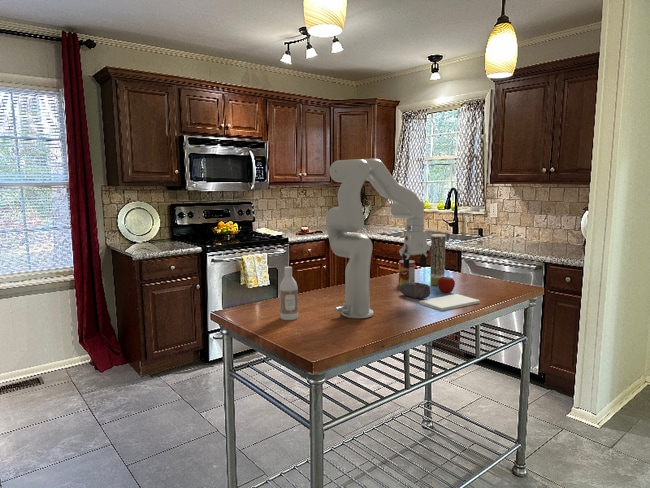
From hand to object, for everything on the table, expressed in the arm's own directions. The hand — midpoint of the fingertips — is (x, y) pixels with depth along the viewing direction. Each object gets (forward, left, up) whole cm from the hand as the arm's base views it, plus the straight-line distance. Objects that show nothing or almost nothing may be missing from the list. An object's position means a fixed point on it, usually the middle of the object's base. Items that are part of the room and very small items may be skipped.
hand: (414, 266), depth 204 cm
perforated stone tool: (-1, 0, -14) cm, 14 cm away
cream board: (+5, -16, -14) cm, 22 cm away
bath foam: (-62, +2, -14) cm, 63 cm away
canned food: (+13, +20, -14) cm, 27 cm away
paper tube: (+25, +12, -14) cm, 31 cm away
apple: (+17, -2, -14) cm, 23 cm away
